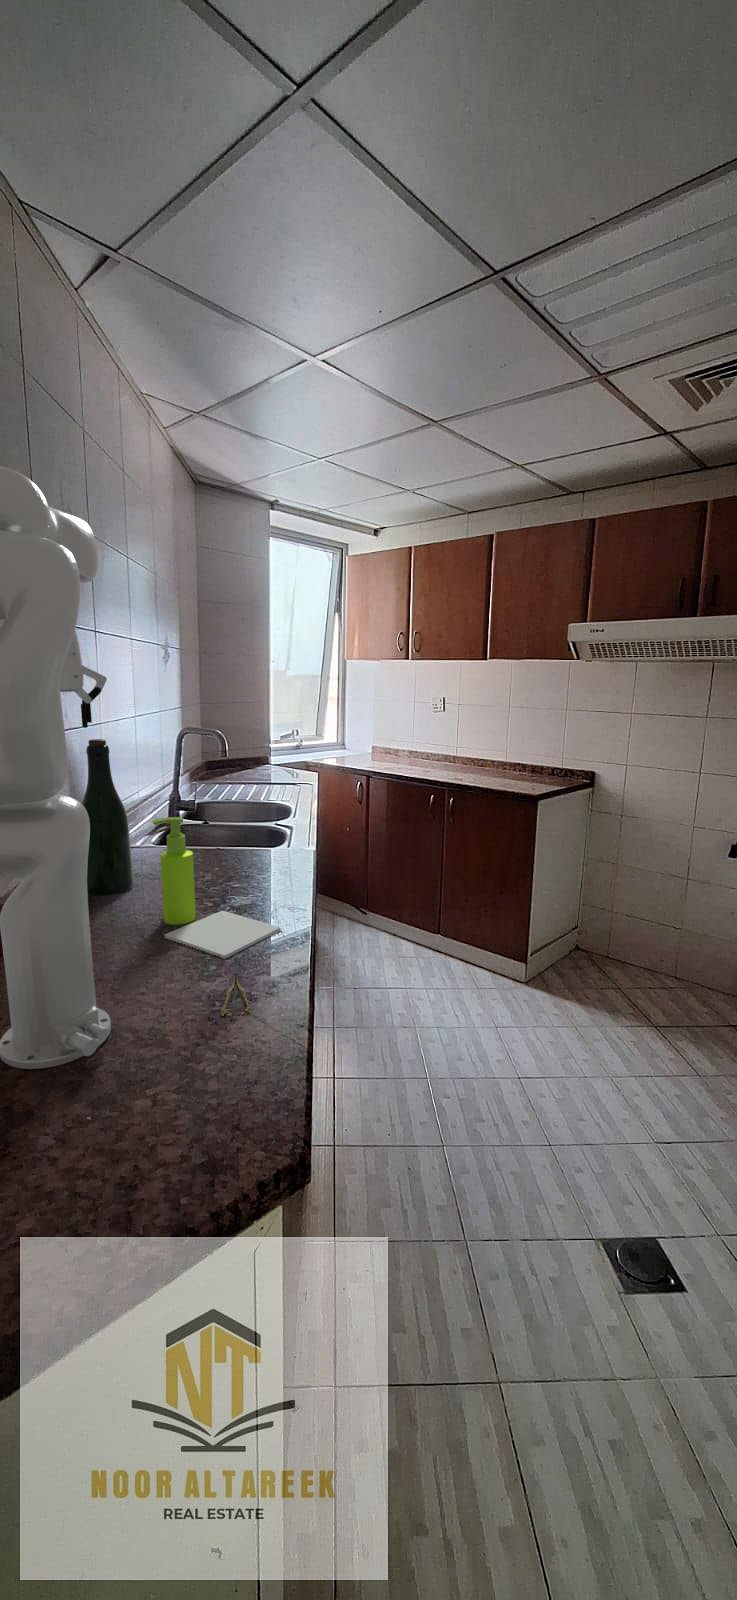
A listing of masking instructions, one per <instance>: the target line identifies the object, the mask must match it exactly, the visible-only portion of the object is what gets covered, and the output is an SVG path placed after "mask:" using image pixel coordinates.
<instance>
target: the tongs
mask: <svg viewBox="0 0 737 1600" xmlns="http://www.w3.org/2000/svg"><path fill="white" fill-rule="evenodd" d="M235 982H236V983H237V984H236V983H235ZM235 984H236V985H237V987H238V990H240V991H239V993H240V995H241V997H242V999H243V998H244V999H243V1003H244V1002H245V1003H246V1005H247V1007H246V1006H245V1009H244V1010H245V1011H248V1010H249V1013H250V1014H251V1012H252V1007H250V1006H249V1001H248V1000H247V996H246V992H245V989H244V987H243V986H242V985H241V982H240V980H239V974H238V972H233V978H232V981H231V984H230V986H229V988H228V990H227V992H226V998H225V1001H224V1005H223V1008H222V1009H220V1015H221V1016H222V1017H223V1016H224V1013H229V1014H226V1015H228V1016H229V1015H230V1016H231V1017H232V1014H231V1013H230V1012H229V1011H227V1010H226V1008H225V1006H226V1005H227V1004H228V1005H229V1001H230V998H231V996H232V992H233V990H234V987H235ZM245 1003H244V1004H245ZM243 1013H244V1012H243V1011H242V1012H241V1013H240V1016H241V1015H242V1014H243ZM228 1016H227V1017H228Z"/></svg>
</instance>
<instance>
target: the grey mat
mask: <svg viewBox="0 0 737 1600" xmlns="http://www.w3.org/2000/svg"><path fill="white" fill-rule="evenodd" d="M280 931H281V927H280V926H278V925H274V924H271V923H267V922H263V921H259V920H257V919H252V918H249V917H246V916H243V915H239V914H236V913H232V912H229V911H226V910H220V911H218V912H215V913H213V914H211V915H210V914H209V916H206V917H203V918H200V919H199V920H195V921H193V922H190V923H188V924H186V925H183V926H182V927H180V928H177V929H174V930H173V931H169V932H168V933H165V934H164V939H167V940H169V941H172V940H173V942H175V941H176V943H178V942H179V943H178V944H181V943H182V945H184V944H185V945H184V946H187V945H188V946H187V947H189V948H192V947H193V949H195V948H196V949H195V950H198V949H200V950H199V951H201V950H203V951H202V952H204V951H205V952H204V953H208V954H210V955H213V956H215V955H216V957H218V956H219V958H221V959H224V960H226V959H227V958H229V957H231V956H233V955H235V954H237V953H240V952H241V951H243V950H246V949H247V948H249V947H251V946H252V945H255V944H257V943H259V942H261V941H262V940H265V939H267V938H268V937H270V936H273V935H275V934H276V933H278V932H280Z"/></svg>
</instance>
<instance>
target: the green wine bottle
mask: <svg viewBox="0 0 737 1600" xmlns="http://www.w3.org/2000/svg"><path fill="white" fill-rule="evenodd" d="M85 751H86V752H85V753H86V756H87V758H86V759H87V782H86V788H85V792H84V794H83V799H82V802H81V804H82V805H83V806H84V807H85V809H86V811H87V813H88V816H89V823H90V839H89V851H88V863H87V892H88V896H90V897H91V896H92V897H93V896H94V897H107V896H109V897H110V896H115V895H119V894H122V893H126V892H128V890H130V889H131V888H132V887H133V885H134V873H133V872H134V871H133V857H132V849H131V836H130V826H129V821H128V815H127V811H126V809H125V808H126V807H125V806H124V803H123V801H122V800H121V798H120V796H119V793H118V791H117V789H116V787H115V783H114V781H113V776H112V770H111V761H110V748H109V745H107V740H106V739H101V738H97V739H94V738H93V739H89V740H88V745H87V746H86V750H85Z"/></svg>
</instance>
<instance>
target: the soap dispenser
mask: <svg viewBox="0 0 737 1600" xmlns="http://www.w3.org/2000/svg"><path fill="white" fill-rule="evenodd" d="M151 822H152V824H153V825H154V826H158V825H161V824H169V823H170V833H168V834H167V835H166V851H163V852H161V853H160V855H159V856H160V872H161V873H160V874H161V892H162V894H161V895H162V911H163V922H164V923H165V924H167V925H172V926H173V925H174V926H176V925H177V926H178V925H185V924H186V925H187V924H190V923H193V922H194V921H196V917H197V916H196V914H197V913H196V912H197V911H196V894H195V870H194V867H195V866H194V852H193V851H192V850H189V849H187V845H186V834H184V833H182V832H181V823H184V818H183V817H180V816H179V817H178V816H175V817H174V816H173V817H172V816H171V817H162V818H157V819H155V820H153V821H151Z"/></svg>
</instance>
